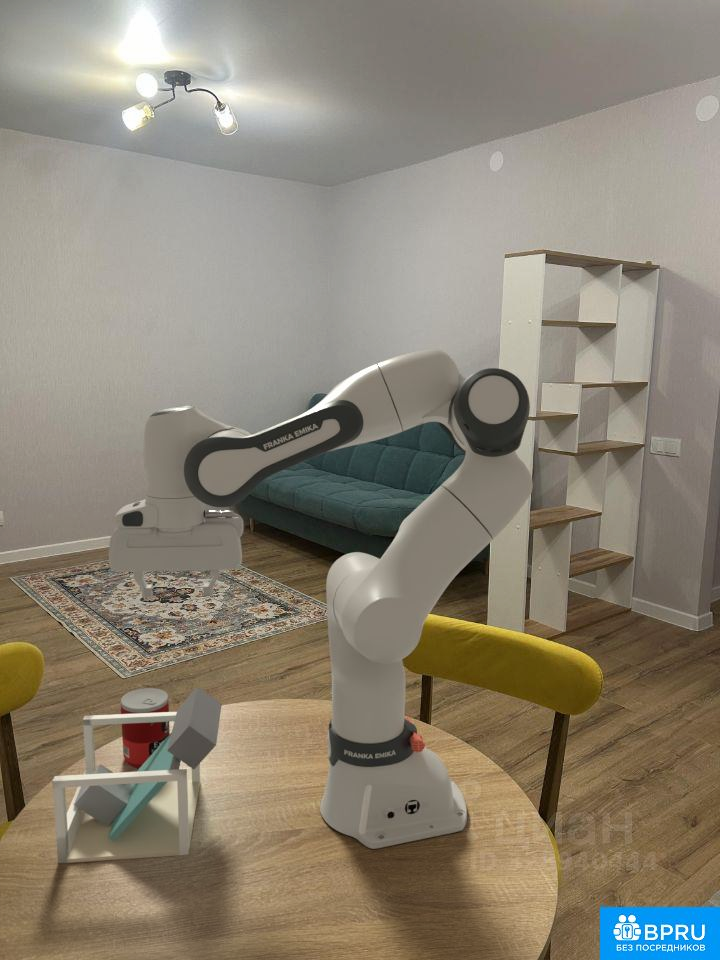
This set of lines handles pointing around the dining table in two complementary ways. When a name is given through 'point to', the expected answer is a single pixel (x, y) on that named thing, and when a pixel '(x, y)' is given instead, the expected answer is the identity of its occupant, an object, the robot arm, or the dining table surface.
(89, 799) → the grey block
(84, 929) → the dining table surface
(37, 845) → the dining table surface
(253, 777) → the dining table surface
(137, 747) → the canned food
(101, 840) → the frame
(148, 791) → the trapdoor
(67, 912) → the dining table surface
